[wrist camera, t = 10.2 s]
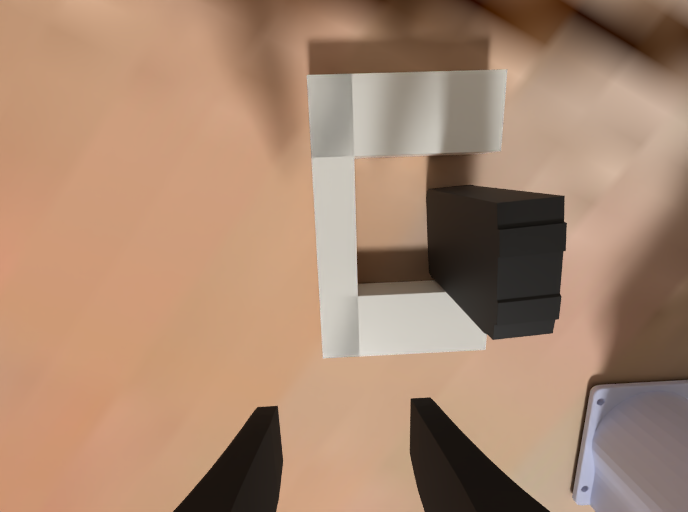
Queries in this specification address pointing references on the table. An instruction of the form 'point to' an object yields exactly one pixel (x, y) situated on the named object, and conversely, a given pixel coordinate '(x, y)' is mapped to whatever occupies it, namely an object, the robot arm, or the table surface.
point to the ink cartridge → (498, 256)
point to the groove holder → (339, 198)
